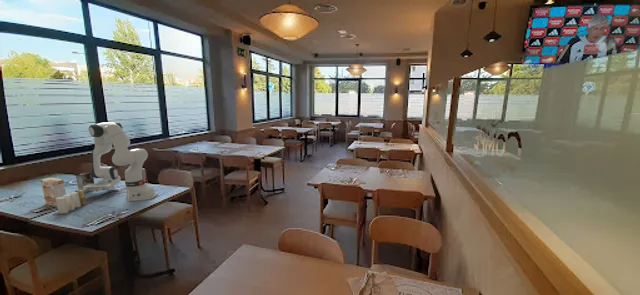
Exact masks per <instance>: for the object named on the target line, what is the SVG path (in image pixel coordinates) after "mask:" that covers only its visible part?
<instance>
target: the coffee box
mask: <svg viewBox="0 0 640 295" xmlns="http://www.w3.org/2000/svg"><path fill="white" fill-rule="evenodd" d="M75 178H76V183H77V184H76V185H77V190H83V186H85V185H89V184H95V180H94V177H93V176H92V173H91V172H82V173H79V174H76V175H75ZM89 192H91V191H86V192H84V193H85V194H86V193H89Z"/></svg>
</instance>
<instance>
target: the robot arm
mask: <svg viewBox="0 0 640 295" xmlns="http://www.w3.org/2000/svg"><path fill="white" fill-rule="evenodd" d="M88 133H89V135H90V136H91V137H93V140H94V141H93V142H94V149H92V151H91V172H90V173H92V176H93V178H95V179H100V180H98V181H97V182H96V183H94V184H89V185H85V186H83V190H84V192H86V191H90V192H97V193H98V192H101V191H104V192H105V191H111V190H113V189H115V188H116V187H115V186H116V185H118V184H119V183H120V182H121V176H120V175H119V171H118V169H117V167H122V166H128V165H129V166H128V168H127V169H125V170H124V178H125V182H124V184H125V187H126V194H125V200H126V201H127V202H133V201H134V202H135V201H146V200H151V199H154V198H156V197H157V196H158V195H159V192H157V191H156V192H155V189H154V187H153V186H151V185H149V184H148V183H146V179H143V173H142V170H143V166H144V163H145V161H146V160H147V159H148V156H149V153H148V151H147V149H145V148H134V149H133V148H132V149H128V147H129V146H130V144H131V140H130V138H129V136H127V134H126V132H125V131H124V130H123V126H122V124H121V123H120V122H119V121H110V122H109V121H108V122H107V121H106V122H100V123H93V124H90V125H89V127H88ZM113 147H114V150H115V151H114V153H113V155H112V157H111V161H112V163H113V164H114V165H115V166H102V165H101V157H102V155H105V154H107V153H109V152H111V151H112V149H113ZM116 166H117V167H116ZM86 193H87V192H86Z"/></svg>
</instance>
